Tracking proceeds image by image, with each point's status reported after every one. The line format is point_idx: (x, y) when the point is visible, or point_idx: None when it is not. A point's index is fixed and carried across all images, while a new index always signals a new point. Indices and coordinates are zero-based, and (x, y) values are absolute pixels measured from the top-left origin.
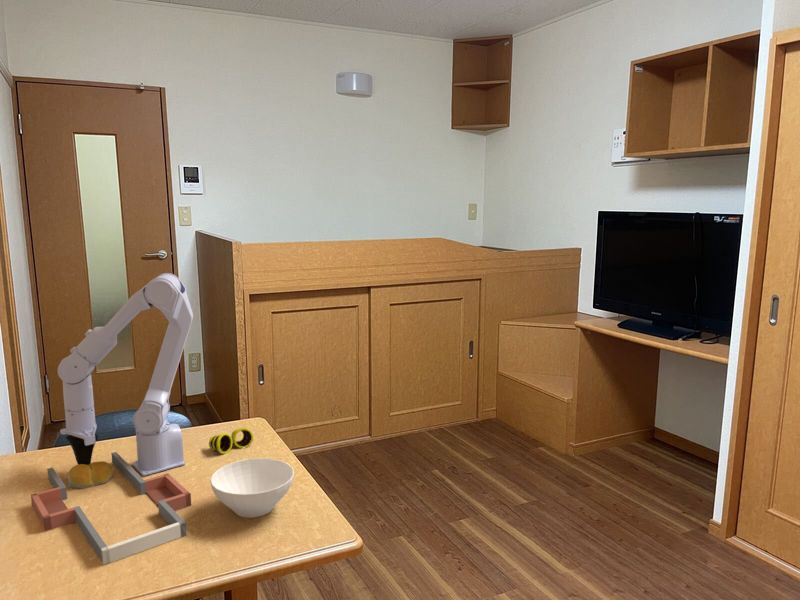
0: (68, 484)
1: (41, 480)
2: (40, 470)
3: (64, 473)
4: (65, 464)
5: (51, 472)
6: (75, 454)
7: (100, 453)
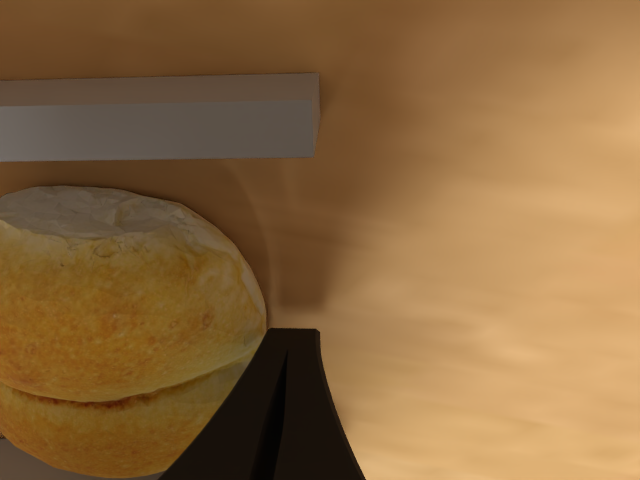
0: (30, 192)
1: (347, 9)
2: (626, 49)
3: (370, 211)
4: (559, 254)
5: (160, 119)
6: (261, 418)
7: (545, 441)
